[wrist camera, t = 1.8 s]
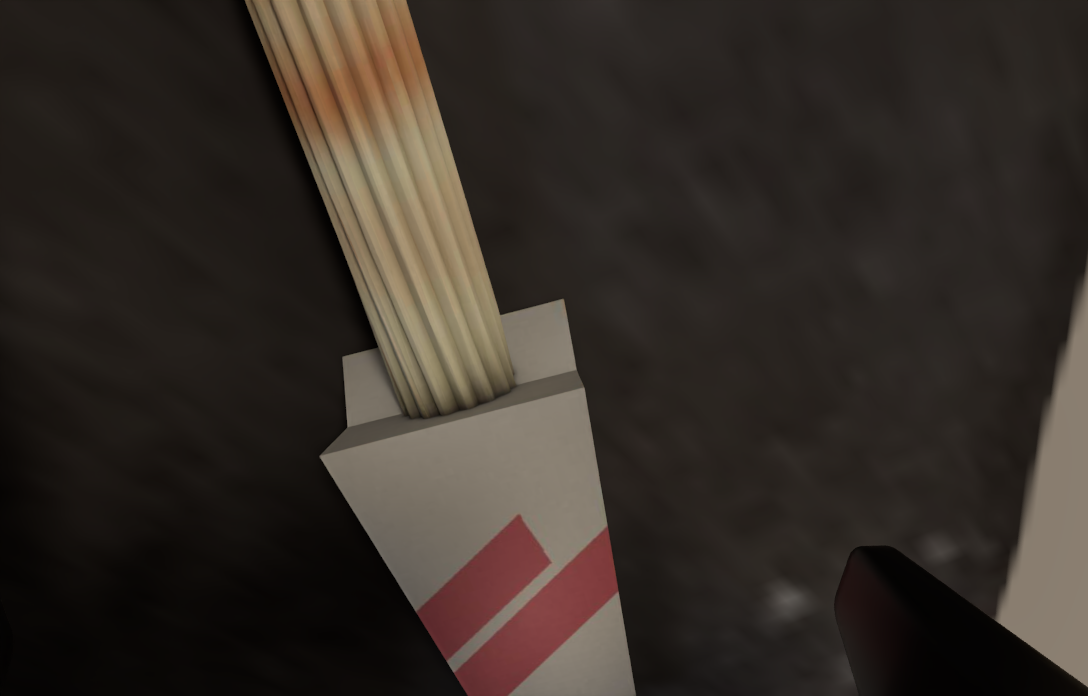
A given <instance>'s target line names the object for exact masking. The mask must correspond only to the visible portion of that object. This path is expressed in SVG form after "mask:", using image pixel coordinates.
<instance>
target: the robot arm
mask: <svg viewBox="0 0 1088 696" xmlns="http://www.w3.org/2000/svg"><path fill="white" fill-rule="evenodd" d="M834 610H835V617H836V621H837V624H838V627H839V631H840V634H841V637H842V640H843V644H844V647H845V650H846V654H847V657H848V660H849V663H850V667H851V670H852V673H853V677H854V680H855V683H856V686H857V690H858V693H859V696H1088V687H1087V686H1085V685H1084V684H1083V683H1081V682H1080V681H1078V680H1077V679H1076V678H1074V677H1073V676H1071V675H1070V674H1069V673H1067V672H1066V671H1064V670H1063V669H1062V668H1060V667H1059V666H1058V665H1056V664H1055V663H1053V662H1052V661H1051V660H1049V659H1048V658H1046V657H1045V656H1044V655H1042V654H1041V653H1040V652H1038V651H1037V650H1035V649H1034V648H1033V647H1031V646H1030V645H1028V644H1027V643H1026V642H1024V641H1023V640H1021V639H1020V638H1019V637H1017V636H1016V635H1015V634H1013V633H1012V632H1010V631H1009V630H1007V629H1006V628H1005V627H1003V626H1002V625H1001V624H999V623H998V622H997V621H995V620H994V619H992V618H991V617H990V616H988V615H987V614H985V613H984V612H983V611H981V610H980V609H979V608H977V607H976V606H974V605H973V604H972V603H970V602H969V601H967V600H966V599H965V598H963V597H962V596H960V595H959V594H958V593H956V592H955V591H954V590H952V589H951V588H949V587H948V586H947V585H945V584H944V583H942V582H941V581H940V580H938V579H937V578H936V577H934V576H933V575H931V574H930V573H929V572H927V571H926V570H924V569H923V568H922V567H920V566H919V565H917V564H916V563H915V562H913V561H912V560H911V559H909V558H908V557H906V556H905V555H904V554H902V553H901V552H899V551H898V550H896V549H895V548H893V547H890V546H860V547H857V548H855V549H854V550H853V551H852V552H851V554H850V556H849V558H848V561H847V564H846V567H845V570H844V573H843V575H842V578H841V581H840V584H839V587H838V590H837V593H836V596H835V603H834ZM12 652H13V634H12V629H11V627H10V624H9V621H8V618H7V615H6V613H5V610H4V607H3V604H2V602H1V599H0V695H1V691H2V688H3V685H4V681H5V678H6V674H7V671H8V668H9V664H10V661H11V657H12Z"/></svg>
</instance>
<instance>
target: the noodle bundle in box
mask: <svg viewBox="0 0 1088 696" xmlns="http://www.w3.org/2000/svg"><path fill="white" fill-rule="evenodd" d="M245 2H246V5H247V7H248V10H249V12H250V15H251V17H252V20H253V23H254V25H255V28H256V30H257V33H258V35H259V38H260V40H261V43H262V46H263V48H264V51H265V53H266V56H267V58H268V61H269V63H270V66H271V68H272V71H273V74H274V76H275V79H276V81H277V84H278V86H279V89H280V91H281V94H282V96H283V99H284V102H285V104H286V107H287V109H288V112H289V114H290V117H291V119H292V122H293V124H294V127H295V130H296V132H297V135H298V137H299V140H300V142H301V145H302V147H303V150H304V152H305V155H306V158H307V160H308V163H309V165H310V168H311V170H312V173H313V175H314V178H315V180H316V183H317V186H318V188H319V191H320V193H321V196H322V198H323V201H324V203H325V206H326V209H327V211H328V214H329V216H330V219H331V221H332V224H333V226H334V229H335V231H336V234H337V237H338V239H339V242H340V244H341V247H342V250H343V252H344V255H345V258H346V260H347V263H348V266H349V268H350V271H351V274H352V277H353V279H354V282H355V285H356V287H357V290H358V293H359V295H360V298H361V301H362V303H363V306H364V309H365V312H366V314H367V317H368V320H369V322H370V325H371V328H372V330H373V333H374V336H375V339H376V341H377V344H378V348H374V349H371V350H367V351H363V352H359V353H355V354H352V355H348V356H344V357H342V358H343V372H344V385H345V398H346V411H347V424H348V427H347V429H346V430H345V431H344V432H343V433H342V434H341V435H340V436H339V437H338V438H337V439H336V440H335V441H334V442H333V443H332V444H331V445H330V446H329V447H328V448H327V449H326V450H325V451H324V452H323V453H322V454H321V455H320V458H321V460H322V461H323V463H324V465H325V466H326V468H327V469H328V471H329V473H330V474H331V476H332V477H333V479H334V481H335V482H336V484H337V485H338V487H339V489H340V490H341V492H342V494H343V495H344V497H345V498H346V500H347V502H348V503H349V505H350V506H351V508H352V510H353V511H354V513H355V514H356V516H357V518H358V519H359V521H360V523H361V524H362V526H363V527H364V529H365V531H366V532H367V534H368V535H369V537H370V539H371V540H372V542H373V543H374V545H375V547H376V548H377V550H378V552H379V553H380V555H381V556H382V558H383V560H384V561H385V563H386V564H387V566H388V568H389V569H390V571H391V572H392V574H393V576H394V577H395V579H396V581H397V582H398V584H399V585H400V587H401V589H402V590H403V592H404V593H405V595H406V597H407V598H408V600H409V601H410V603H411V605H412V606H413V608H414V610H415V611H416V613H417V614H418V616H419V618H420V619H421V621H422V622H423V624H424V626H425V627H426V629H427V630H428V632H429V634H430V635H431V637H432V639H433V640H434V642H435V643H436V645H437V647H438V648H439V650H440V651H441V653H442V655H443V656H444V658H445V659H446V661H447V663H448V664H449V666H450V668H451V669H452V671H453V672H454V674H455V676H456V677H457V679H458V680H459V682H460V684H461V685H462V687H463V688H464V690H465V692H466V693H467V695H468V696H636V693H635V687H634V681H633V675H632V669H631V663H630V657H629V651H628V646H627V640H626V634H625V628H624V622H623V616H622V610H621V604H620V598H619V592H618V586H617V580H616V574H615V568H614V562H613V556H612V550H611V544H610V538H609V532H608V526H607V520H606V514H605V508H604V502H603V497H602V491H601V485H600V479H599V473H598V467H597V461H596V455H595V449H594V443H593V437H592V431H591V425H590V419H589V413H588V407H587V401H586V395H585V389H584V386H583V384H582V381H581V379H580V377H579V375H578V373H577V369H576V364H575V358H574V353H573V347H572V342H571V336H570V331H569V325H568V320H567V314H566V309H565V303H564V299H561V300H557V301H553V302H550V303H546V304H542V305H538V306H534V307H531V308H527V309H523V310H519V311H515V312H512V313H508V314H504V315H500V314H499V310H498V307H497V303H496V300H495V297H494V293H493V290H492V286H491V283H490V280H489V276H488V273H487V270H486V266H485V263H484V260H483V256H482V253H481V249H480V246H479V243H478V239H477V236H476V233H475V229H474V226H473V223H472V219H471V216H470V212H469V209H468V206H467V202H466V199H465V196H464V192H463V189H462V185H461V182H460V179H459V175H458V172H457V169H456V165H455V162H454V159H453V155H452V152H451V148H450V145H449V142H448V138H447V135H446V132H445V128H444V125H443V122H442V118H441V115H440V112H439V108H438V105H437V102H436V99H435V95H434V92H433V89H432V85H431V82H430V79H429V75H428V72H427V69H426V65H425V62H424V59H423V55H422V52H421V49H420V45H419V42H418V39H417V35H416V32H415V29H414V25H413V22H412V19H411V16H410V12H409V9H408V6H407V2H406V0H245Z"/></svg>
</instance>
